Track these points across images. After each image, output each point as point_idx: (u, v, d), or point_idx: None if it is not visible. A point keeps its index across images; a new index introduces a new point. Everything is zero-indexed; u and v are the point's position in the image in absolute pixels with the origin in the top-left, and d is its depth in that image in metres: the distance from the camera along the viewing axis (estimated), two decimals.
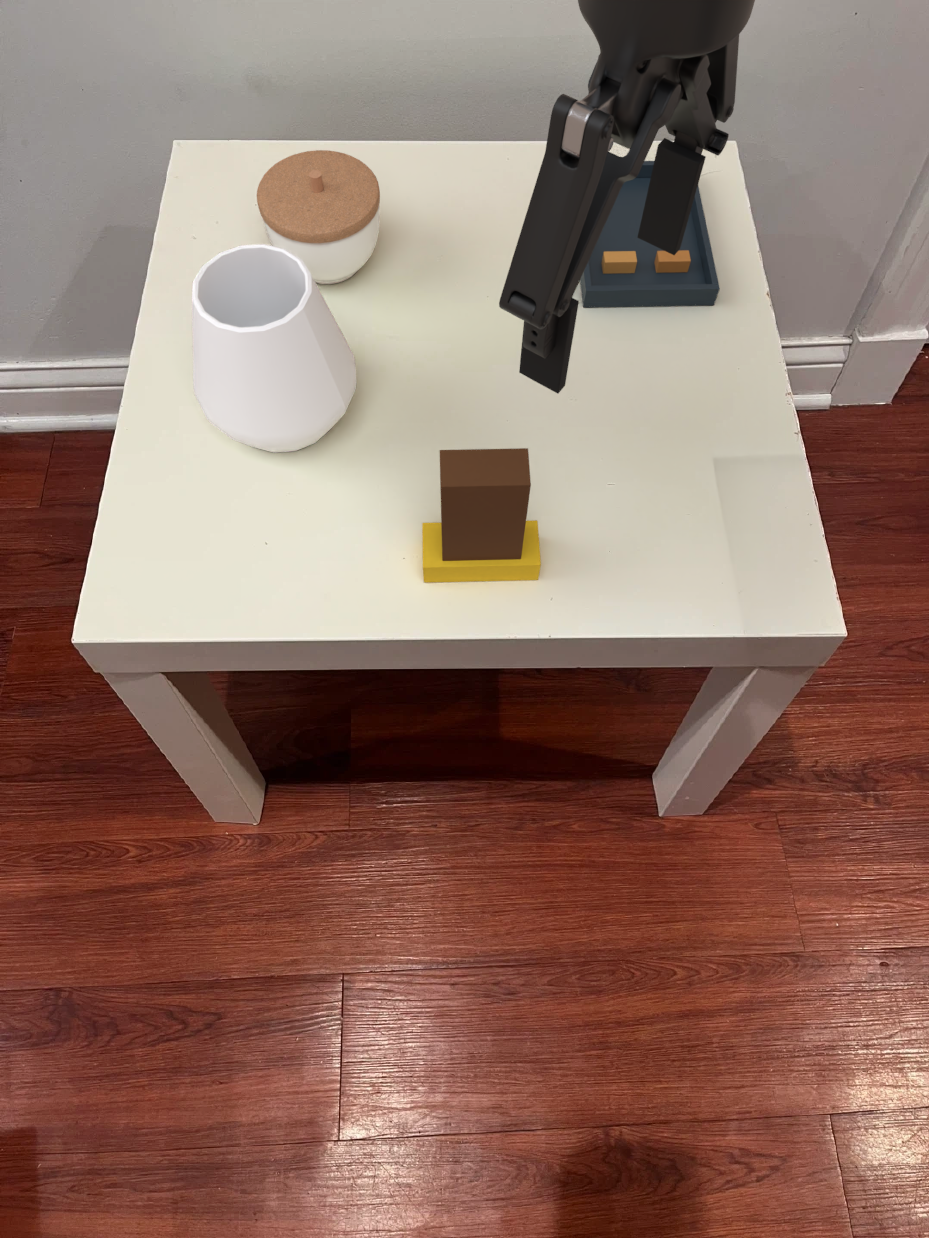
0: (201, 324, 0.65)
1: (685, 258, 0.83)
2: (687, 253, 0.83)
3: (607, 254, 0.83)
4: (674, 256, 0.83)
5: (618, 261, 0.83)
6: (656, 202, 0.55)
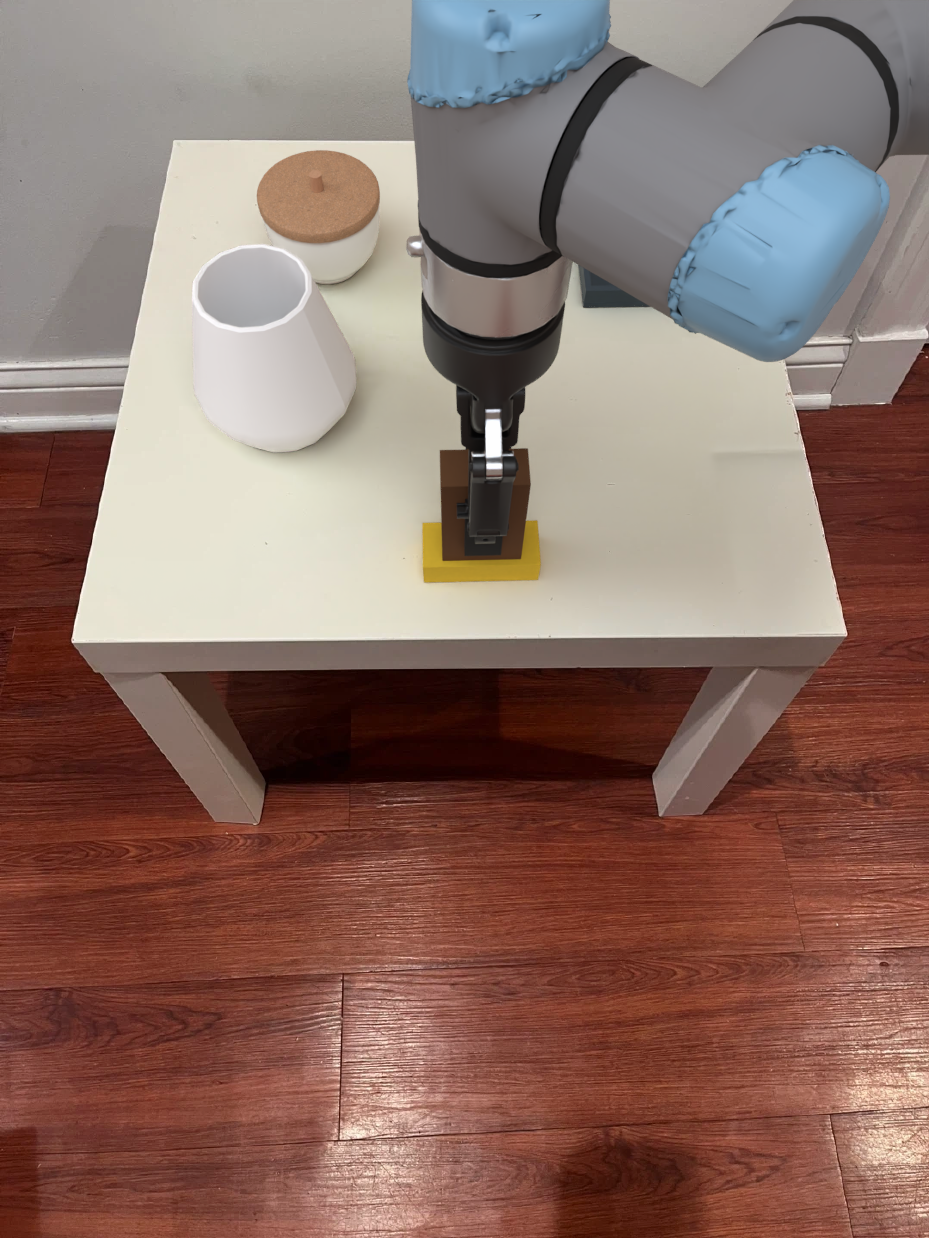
0: (200, 324, 0.65)
1: None
2: None
3: None
4: None
5: None
6: None
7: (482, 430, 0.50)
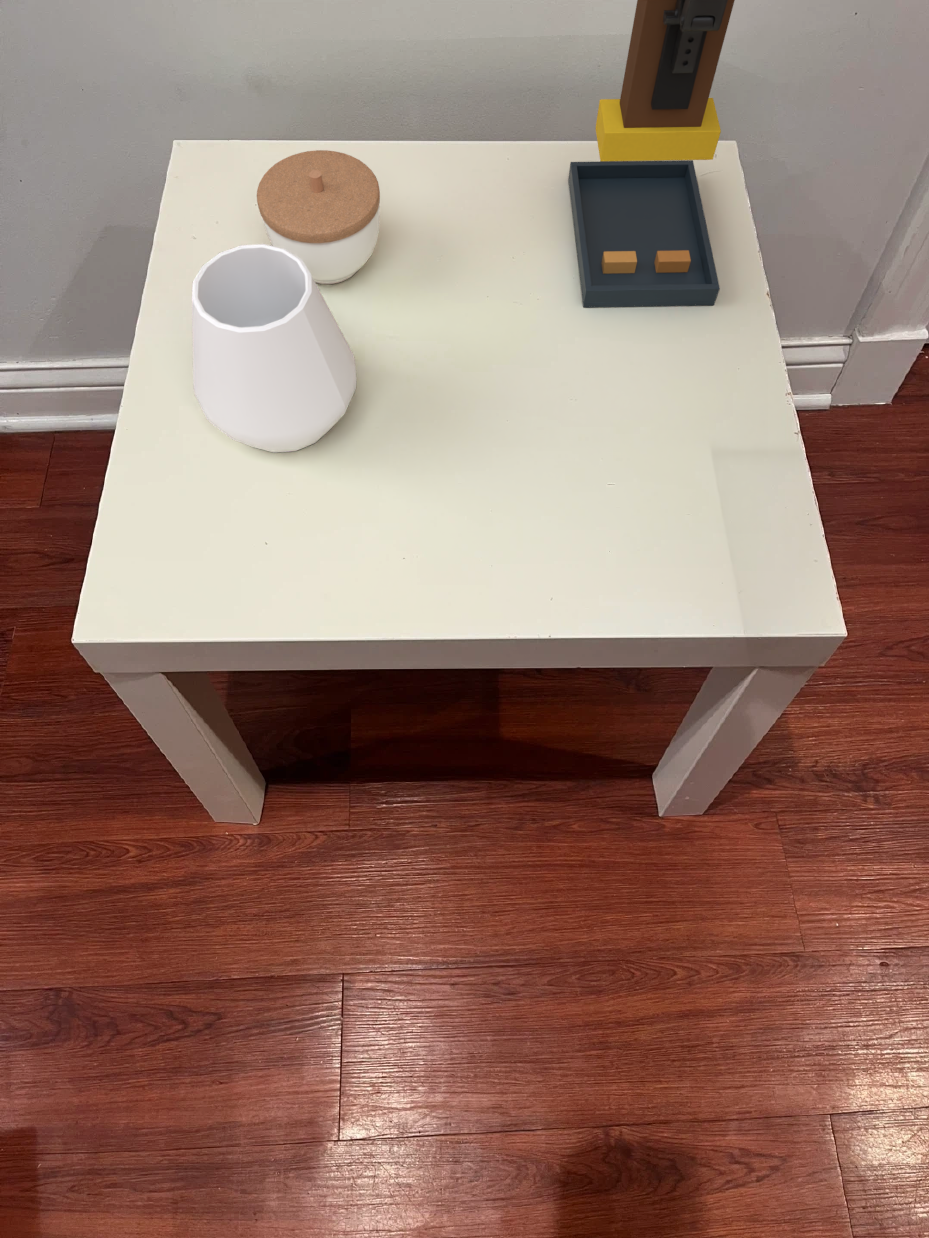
0: (200, 324, 0.65)
1: (685, 258, 0.83)
2: (687, 253, 0.83)
3: (607, 254, 0.83)
4: (674, 256, 0.83)
5: (618, 261, 0.83)
6: None
7: None
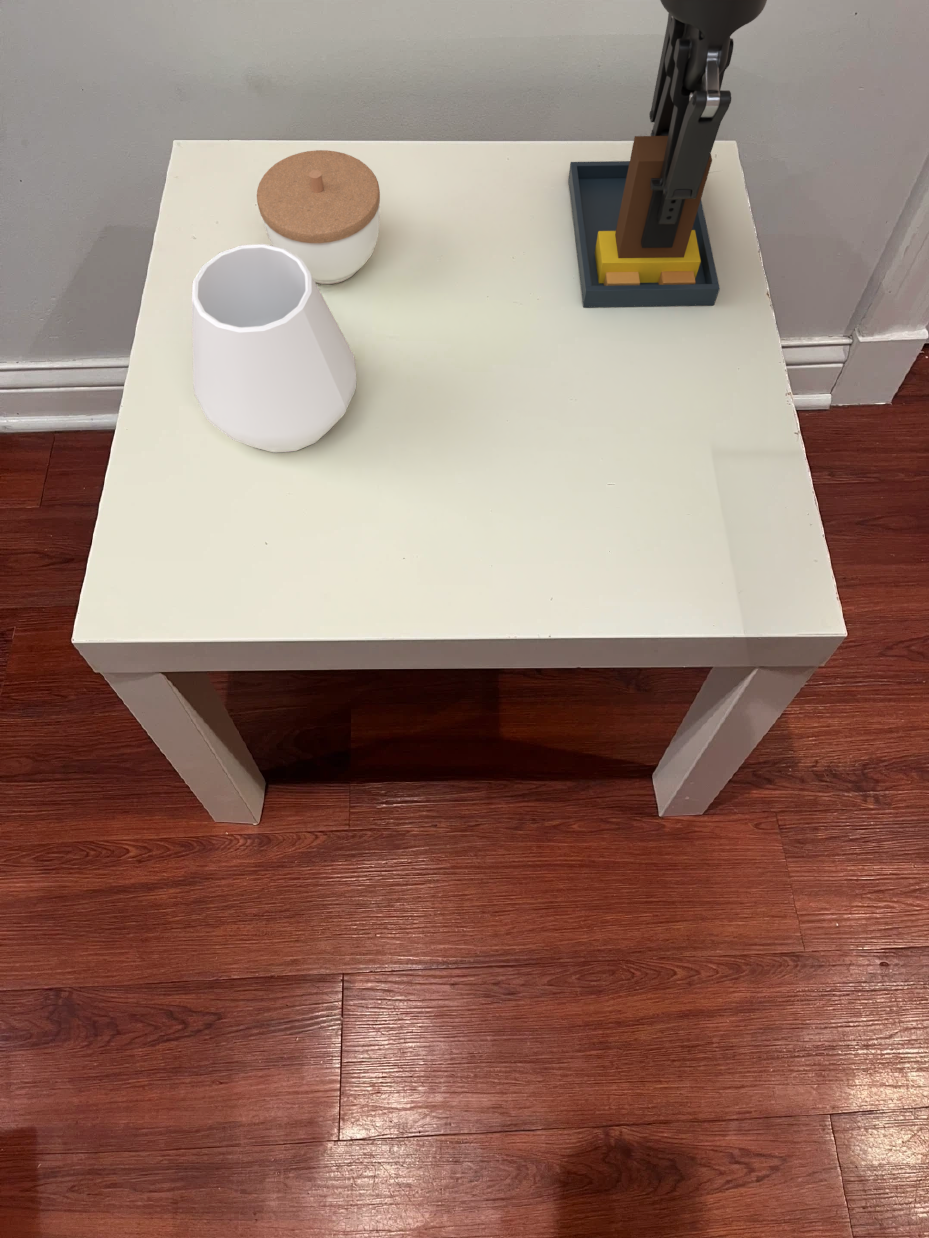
0: (200, 324, 0.65)
1: (690, 279, 0.82)
2: (692, 274, 0.82)
3: (610, 275, 0.82)
4: (678, 277, 0.82)
5: (621, 282, 0.82)
6: None
7: (702, 70, 0.63)
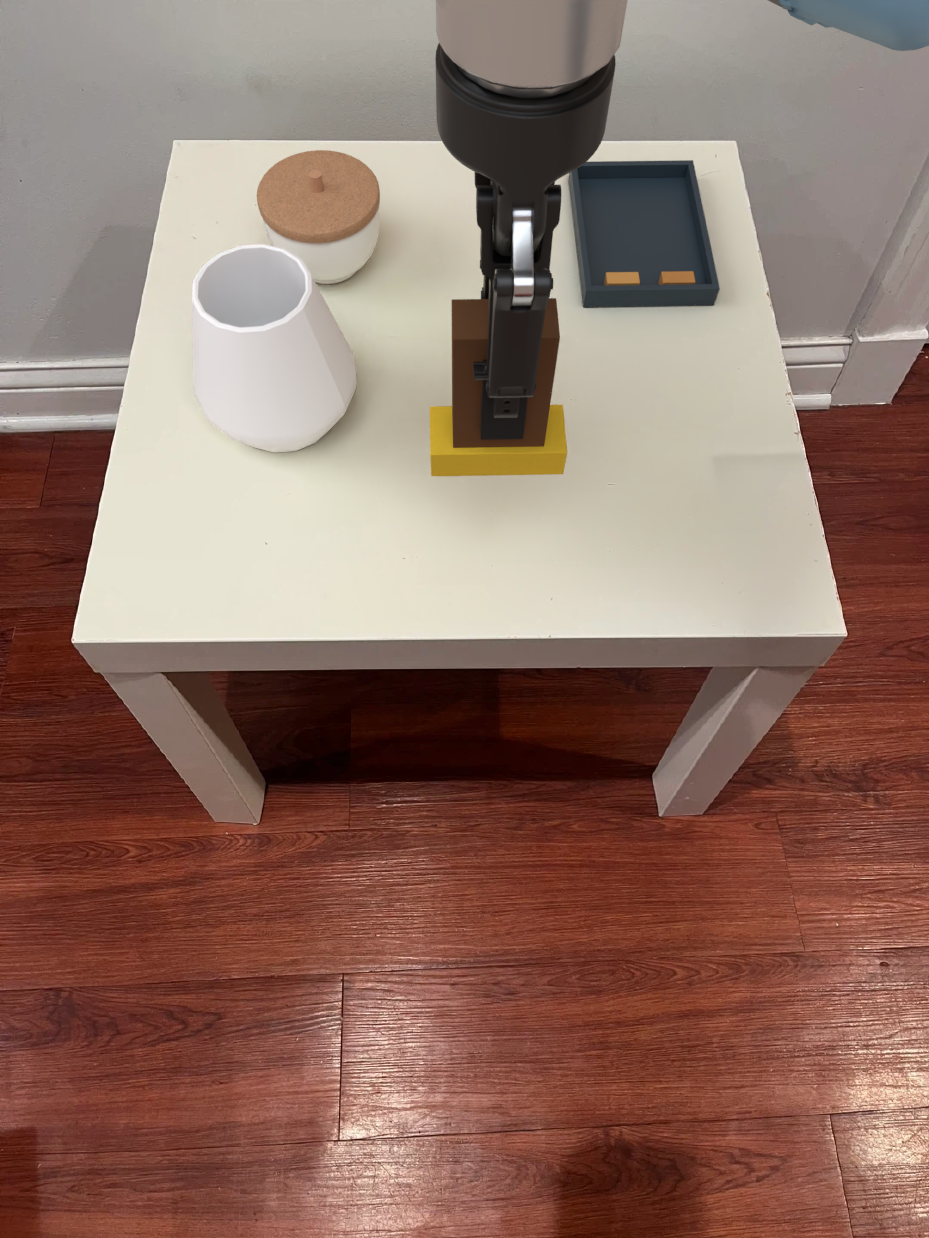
0: (201, 324, 0.65)
1: (690, 279, 0.82)
2: (692, 274, 0.82)
3: (610, 275, 0.82)
4: (678, 277, 0.82)
5: (621, 282, 0.82)
6: None
7: (509, 238, 0.41)
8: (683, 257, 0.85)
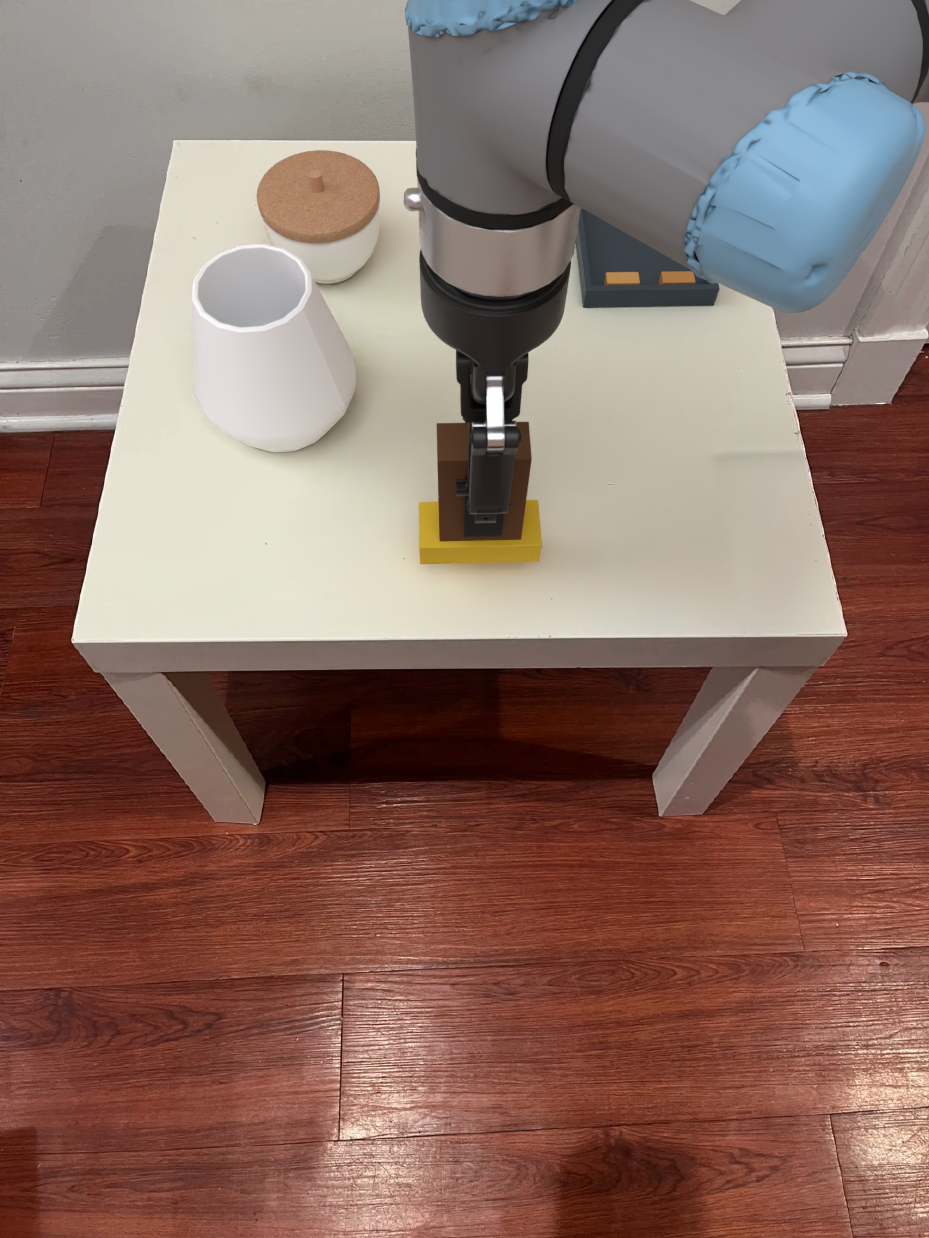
0: (200, 324, 0.65)
1: (690, 279, 0.82)
2: (692, 274, 0.82)
3: (610, 275, 0.82)
4: (678, 277, 0.82)
5: (621, 282, 0.82)
6: None
7: (483, 399, 0.47)
8: None
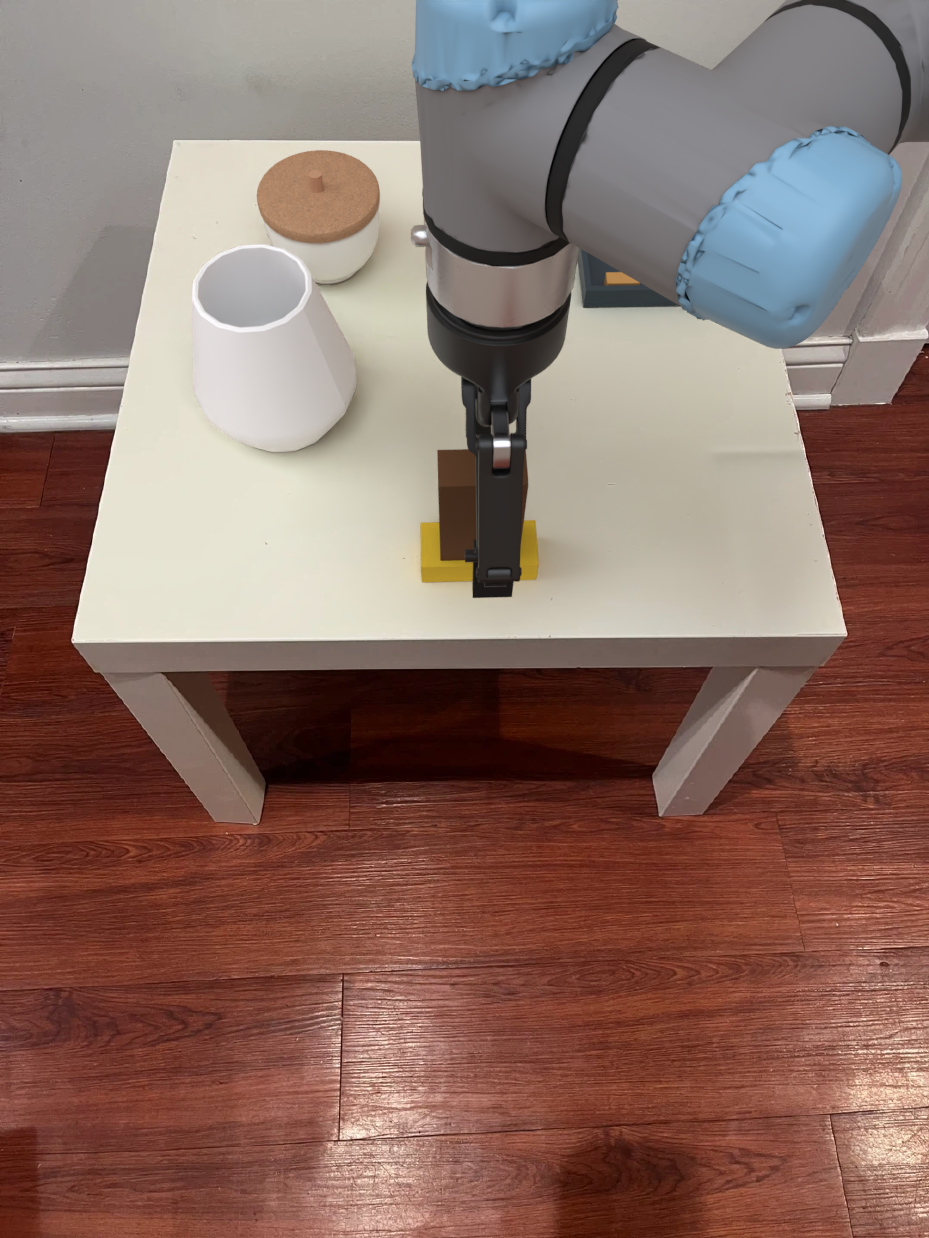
0: (201, 324, 0.65)
1: None
2: None
3: (610, 275, 0.82)
4: None
5: (621, 282, 0.82)
6: (475, 411, 0.65)
7: (488, 423, 0.49)
8: None
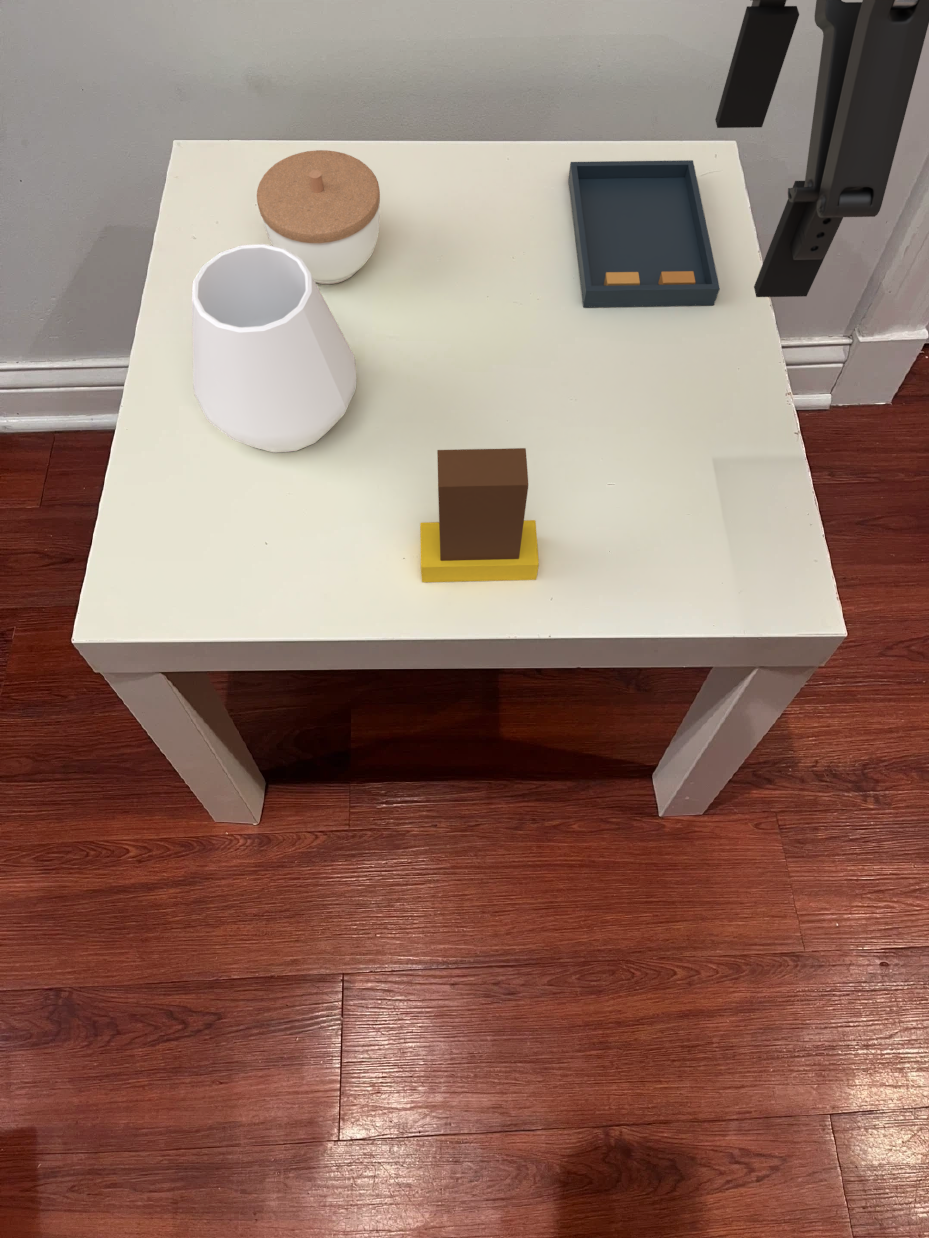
0: (201, 324, 0.65)
1: (690, 279, 0.82)
2: (692, 274, 0.82)
3: (610, 275, 0.82)
4: (678, 277, 0.82)
5: (621, 282, 0.82)
6: (743, 79, 0.51)
7: None
8: (683, 257, 0.85)
